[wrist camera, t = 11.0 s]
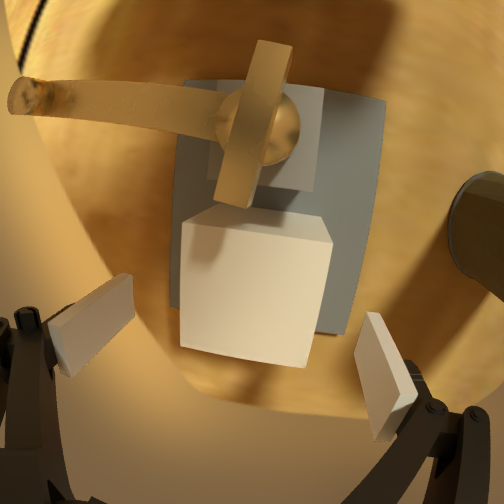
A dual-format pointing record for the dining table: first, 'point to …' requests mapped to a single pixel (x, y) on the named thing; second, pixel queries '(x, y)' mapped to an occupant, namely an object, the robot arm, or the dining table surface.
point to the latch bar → (189, 114)
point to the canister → (480, 230)
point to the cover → (252, 283)
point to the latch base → (325, 201)
